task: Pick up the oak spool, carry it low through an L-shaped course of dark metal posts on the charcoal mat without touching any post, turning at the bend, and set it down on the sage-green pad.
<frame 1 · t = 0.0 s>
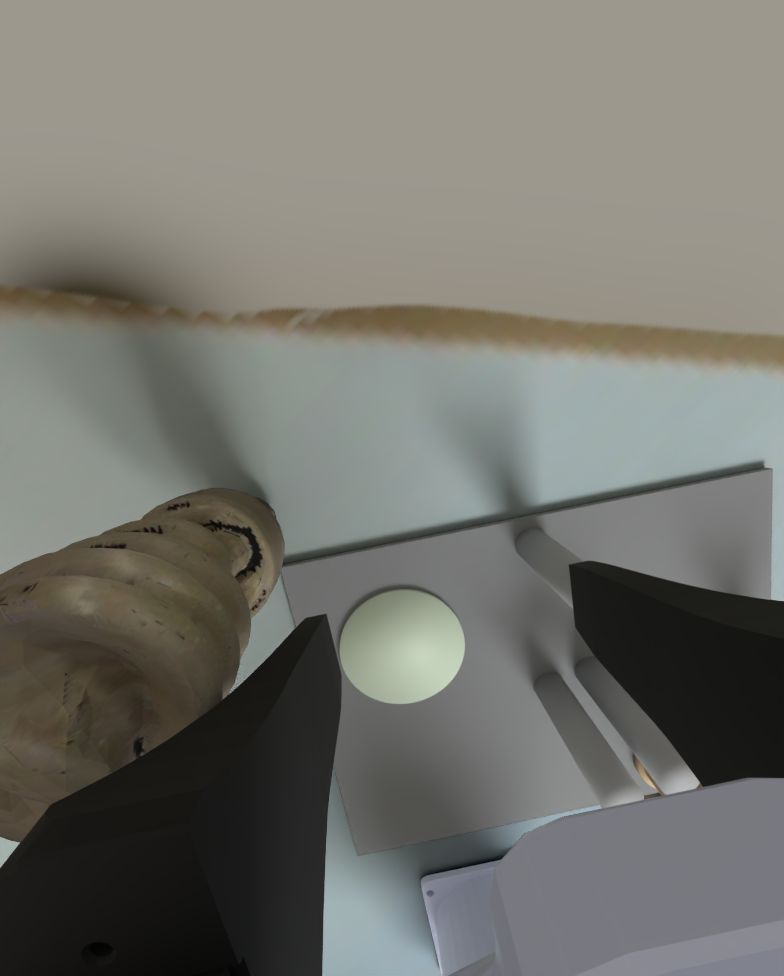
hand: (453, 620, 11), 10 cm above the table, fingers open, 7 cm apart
light bulb: (259, 513, 21), on the table
spool: (668, 751, 25), resting on course
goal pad: (402, 646, 22), resting on course
course: (545, 673, 24), on the table
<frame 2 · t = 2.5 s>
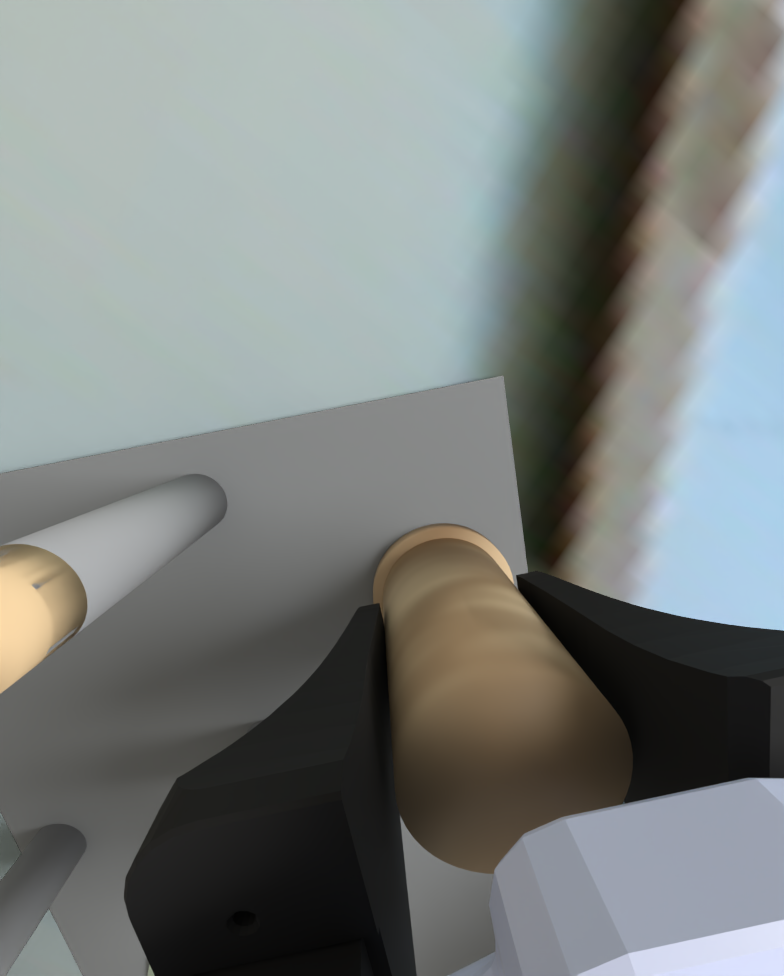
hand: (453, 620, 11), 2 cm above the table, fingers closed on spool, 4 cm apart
spool: (441, 588, 13), resting on course, touching gripper
course: (289, 785, 15), on the table
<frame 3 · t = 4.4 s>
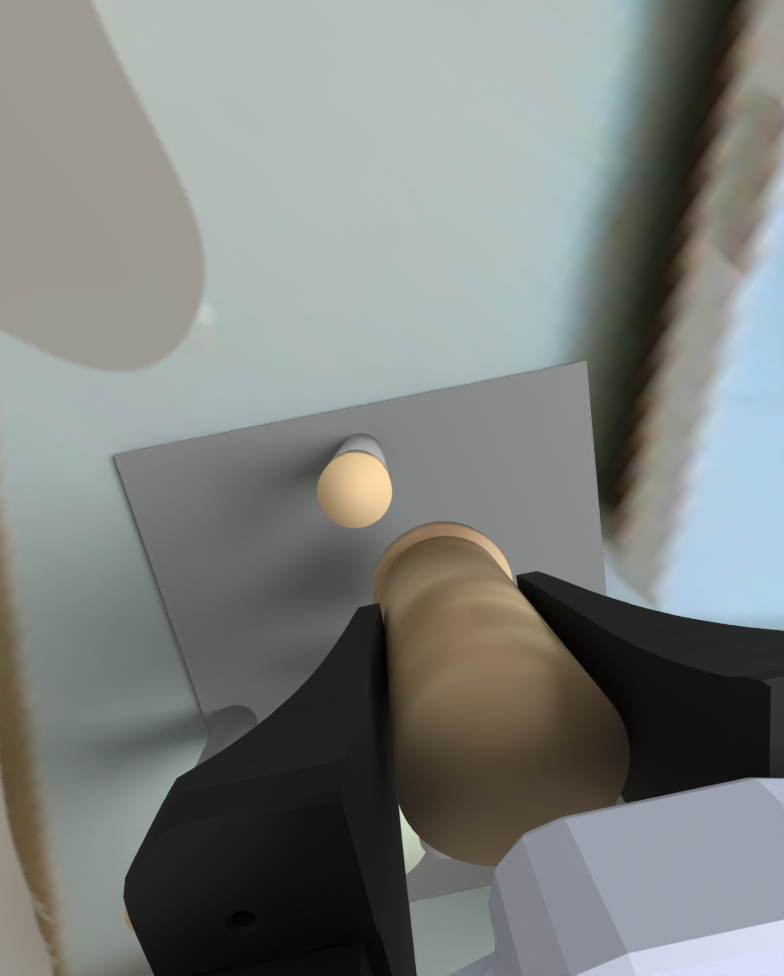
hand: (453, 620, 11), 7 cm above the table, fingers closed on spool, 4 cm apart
spool: (440, 586, 13), point 5 cm above the table, touching gripper
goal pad: (363, 830, 21), resting on course
course: (409, 680, 20), on the table
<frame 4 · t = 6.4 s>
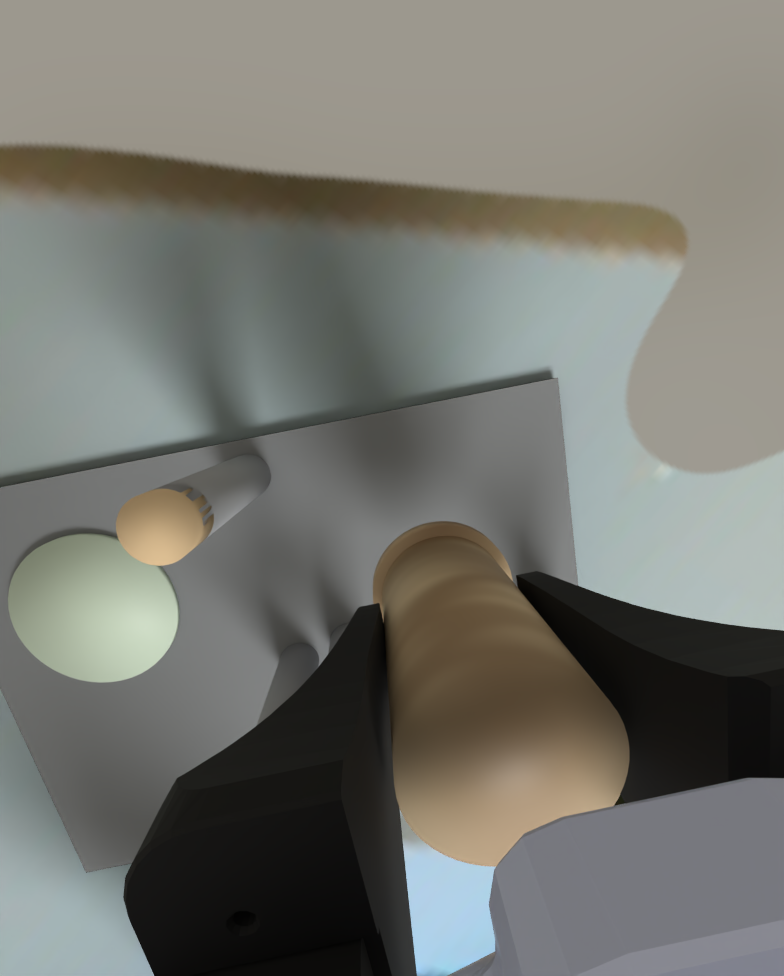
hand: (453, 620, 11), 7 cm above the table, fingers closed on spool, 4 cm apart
spool: (440, 586, 13), point 5 cm above the table, touching gripper
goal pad: (98, 608, 18), resting on course
course: (298, 645, 19), on the table
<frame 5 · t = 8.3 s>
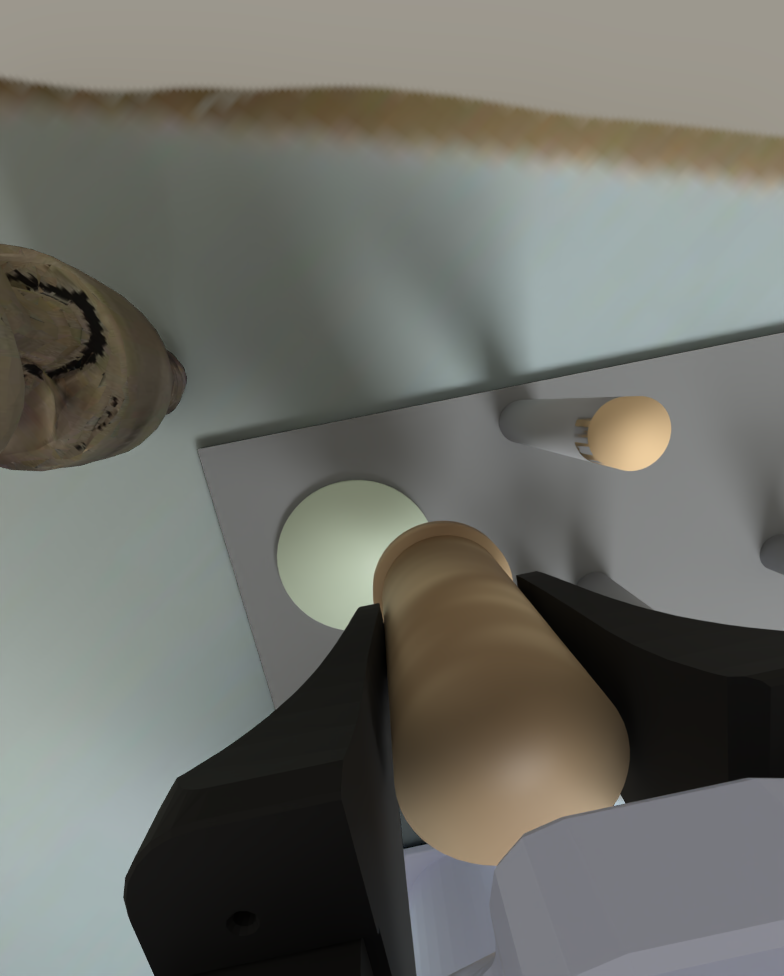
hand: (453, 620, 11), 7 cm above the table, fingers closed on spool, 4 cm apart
light bulb: (170, 379, 16), on the table
spool: (440, 585, 13), point 5 cm above the table, touching gripper
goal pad: (357, 556, 18), resting on course
course: (538, 596, 19), on the table
when the fingers open (4 cm above the table, at t = 10.2 s): spool drops 1 cm, resting on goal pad.
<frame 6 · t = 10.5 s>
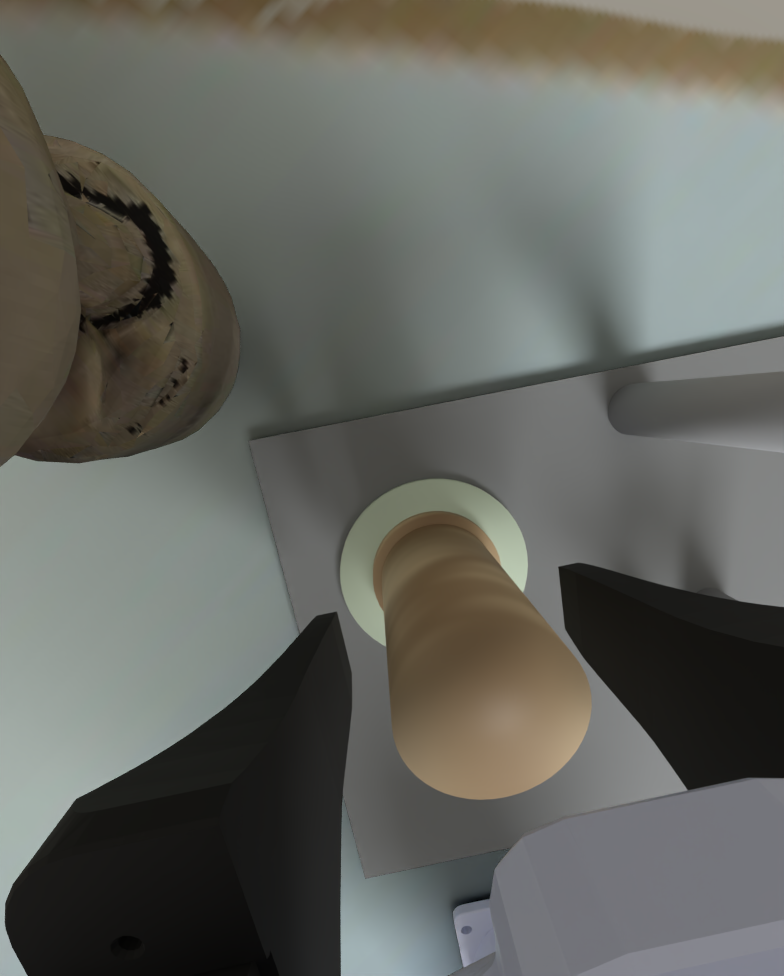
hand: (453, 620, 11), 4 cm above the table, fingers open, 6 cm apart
light bulb: (216, 356, 14), on the table
spool: (435, 570, 15), point 1 cm above the table, touching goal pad
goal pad: (433, 569, 15), resting on course
course: (638, 616, 16), on the table
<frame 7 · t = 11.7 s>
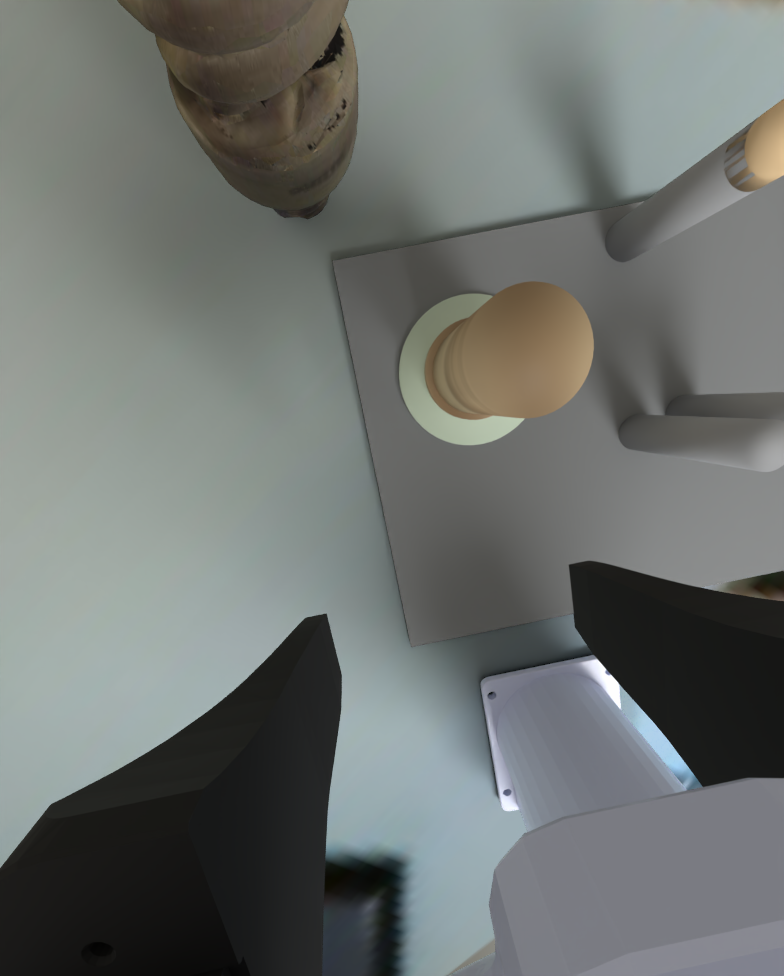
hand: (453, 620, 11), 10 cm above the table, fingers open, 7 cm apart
light bulb: (307, 196, 18), on the table
spool: (472, 370, 19), point 1 cm above the table, touching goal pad
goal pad: (470, 372, 19), resting on course
course: (630, 422, 21), on the table
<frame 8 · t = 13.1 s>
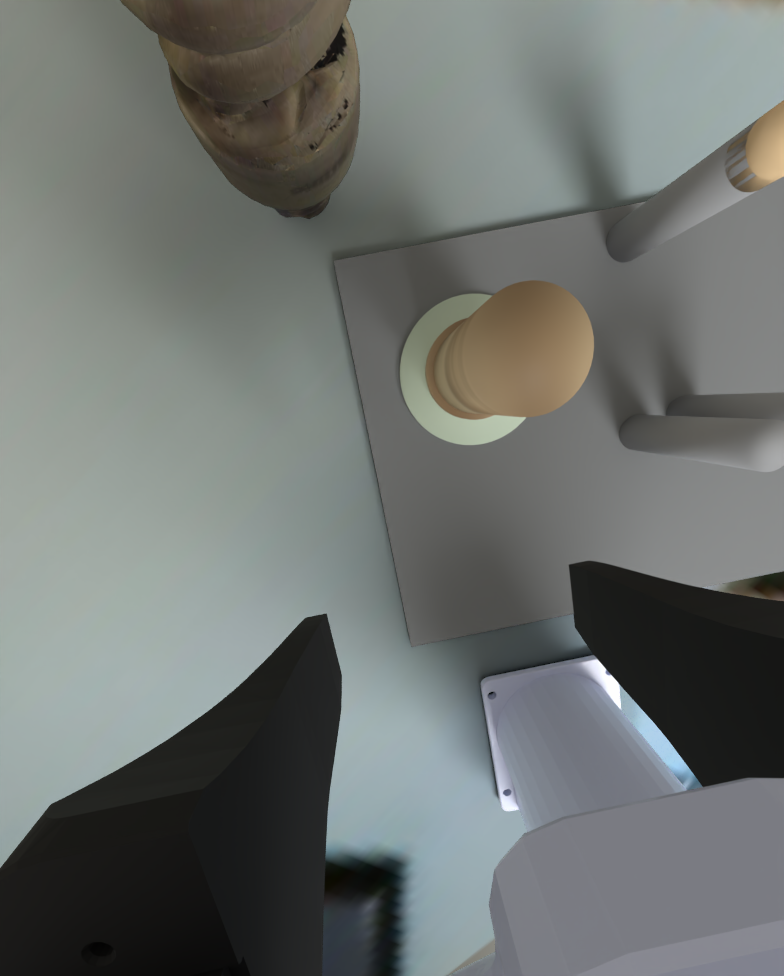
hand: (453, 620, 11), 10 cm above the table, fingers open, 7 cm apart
light bulb: (309, 195, 18), on the table
spool: (472, 370, 19), point 1 cm above the table, touching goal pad
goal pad: (471, 372, 19), resting on course
course: (630, 422, 21), on the table
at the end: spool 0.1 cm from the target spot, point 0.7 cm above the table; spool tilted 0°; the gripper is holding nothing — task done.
